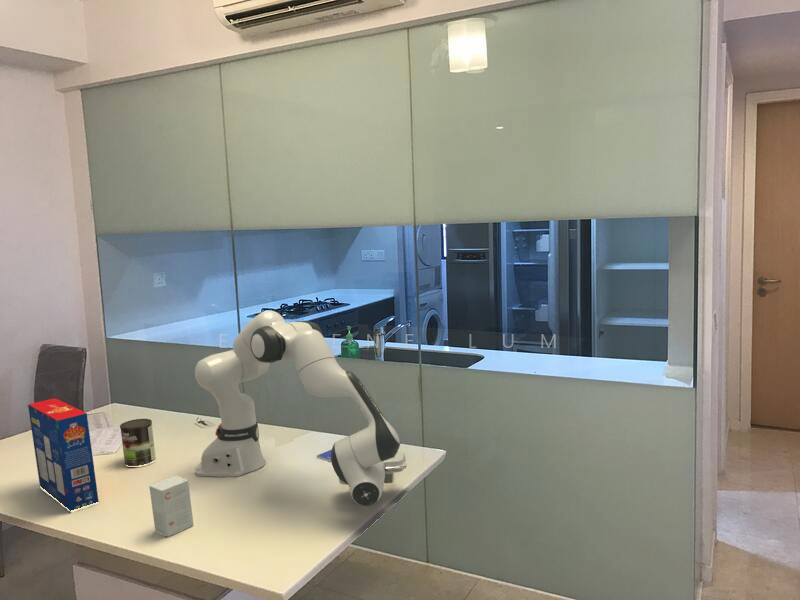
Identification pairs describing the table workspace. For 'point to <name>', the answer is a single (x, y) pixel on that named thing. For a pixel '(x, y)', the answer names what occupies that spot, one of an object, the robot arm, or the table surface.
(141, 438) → the coffee can
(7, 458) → the table surface
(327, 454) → the hard drive
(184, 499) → the small box
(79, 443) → the blue cereal box
